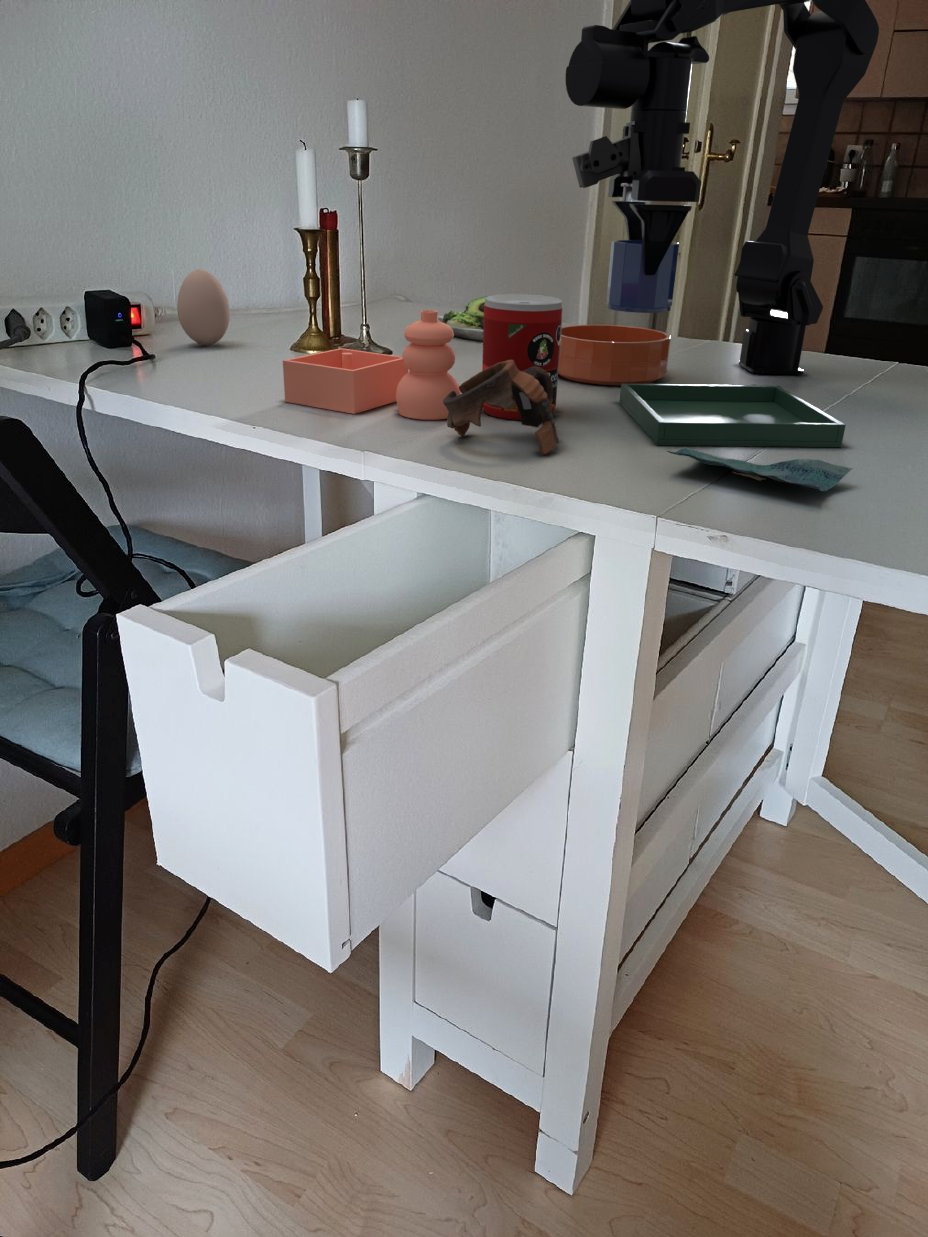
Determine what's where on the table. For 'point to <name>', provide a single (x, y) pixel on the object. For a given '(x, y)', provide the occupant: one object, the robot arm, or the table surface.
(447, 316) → the salad plate
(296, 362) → the pottery
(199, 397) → the table surface
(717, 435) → the green tray
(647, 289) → the blue cup
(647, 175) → the robot arm
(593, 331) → the terracotta bowl
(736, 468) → the terrain model
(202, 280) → the egg
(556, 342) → the canned food
